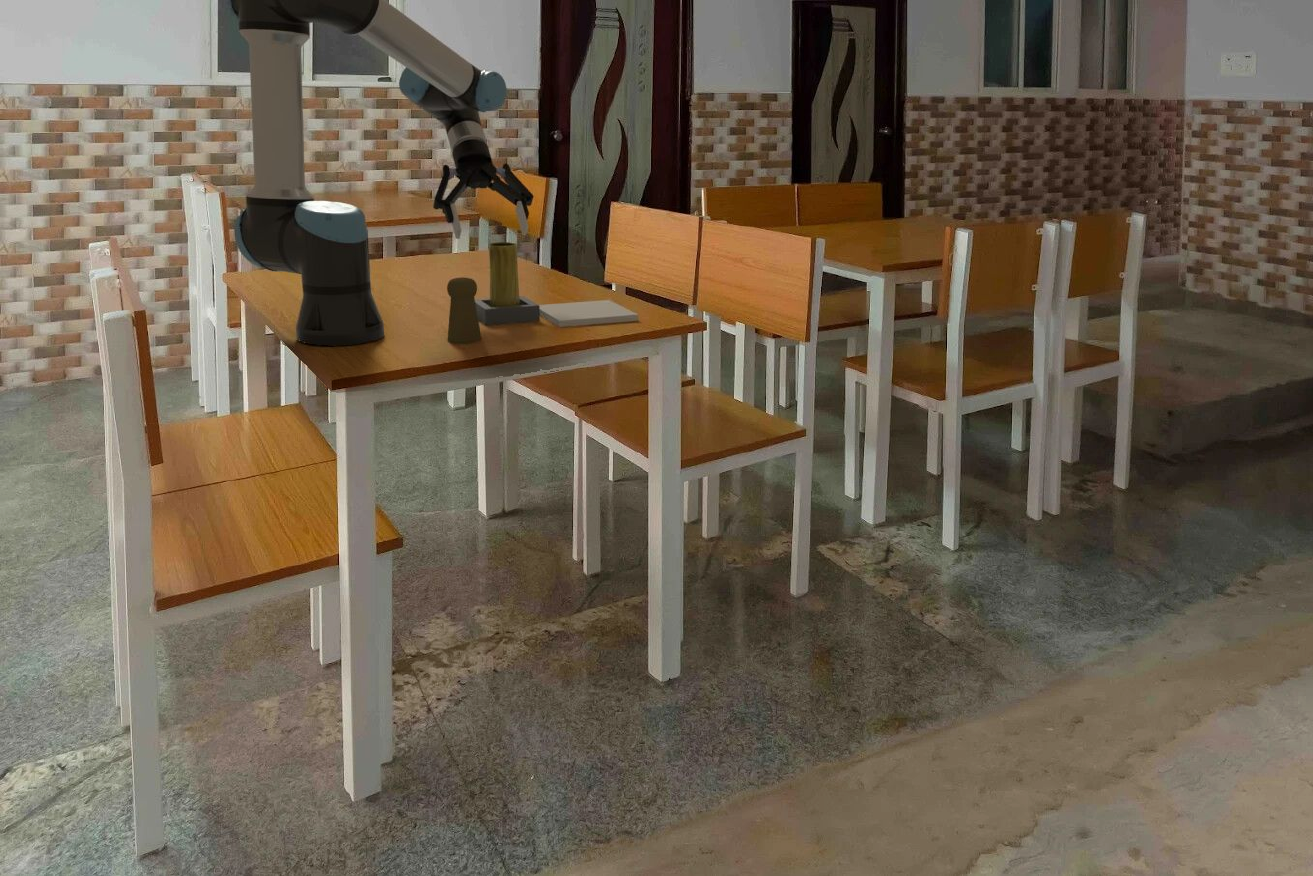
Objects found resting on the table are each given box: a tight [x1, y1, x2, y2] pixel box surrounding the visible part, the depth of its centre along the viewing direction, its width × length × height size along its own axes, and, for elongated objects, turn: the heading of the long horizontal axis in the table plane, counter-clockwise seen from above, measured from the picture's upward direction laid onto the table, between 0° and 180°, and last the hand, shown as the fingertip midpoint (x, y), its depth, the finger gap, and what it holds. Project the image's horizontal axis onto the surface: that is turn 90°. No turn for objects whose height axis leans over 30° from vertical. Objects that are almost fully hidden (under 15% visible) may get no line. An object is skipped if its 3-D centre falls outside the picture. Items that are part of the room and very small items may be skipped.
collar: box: [475, 295, 541, 326], centre depth 215 cm, size 11×11×3 cm
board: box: [538, 299, 639, 328], centre depth 218 cm, size 16×16×1 cm
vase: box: [488, 241, 520, 307], centre depth 213 cm, size 6×6×14 cm
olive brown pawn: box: [446, 276, 483, 345], centre depth 195 cm, size 6×6×11 cm
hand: (492, 232), depth 219 cm, fingers open, 13 cm apart
